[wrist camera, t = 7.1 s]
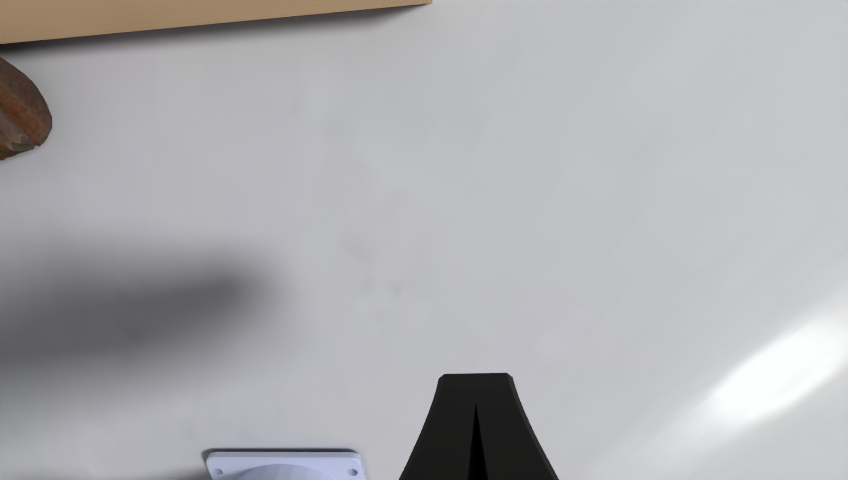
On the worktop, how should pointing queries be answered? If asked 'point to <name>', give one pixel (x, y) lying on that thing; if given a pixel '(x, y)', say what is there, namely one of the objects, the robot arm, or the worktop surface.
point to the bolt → (21, 112)
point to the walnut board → (153, 14)
